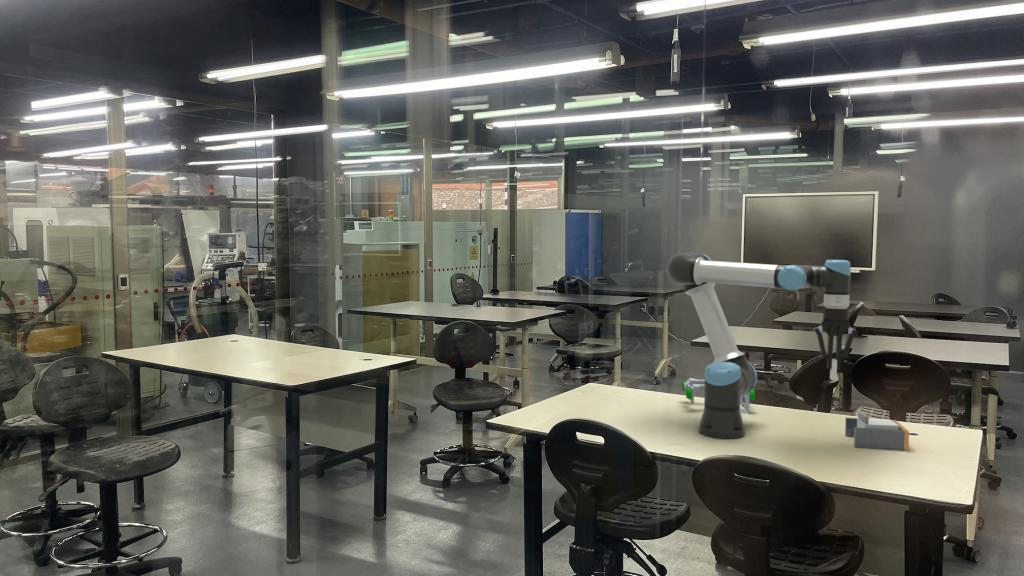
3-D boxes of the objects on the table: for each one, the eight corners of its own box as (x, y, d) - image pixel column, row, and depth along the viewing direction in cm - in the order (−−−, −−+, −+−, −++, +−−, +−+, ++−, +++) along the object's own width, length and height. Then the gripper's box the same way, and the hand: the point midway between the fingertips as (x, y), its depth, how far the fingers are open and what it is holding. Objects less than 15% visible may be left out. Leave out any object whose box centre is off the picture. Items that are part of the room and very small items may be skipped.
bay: (854, 447, 215) (855, 428, 215) (845, 435, 229) (845, 417, 229) (908, 450, 211) (909, 431, 211) (895, 438, 225) (895, 420, 225)
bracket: (682, 401, 280) (682, 377, 280) (745, 403, 277) (745, 379, 276) (687, 412, 262) (687, 386, 261) (754, 414, 258) (755, 388, 258)
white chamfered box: (864, 445, 217) (865, 416, 216) (856, 438, 225) (857, 410, 224) (898, 446, 215) (899, 418, 215) (889, 439, 223) (890, 412, 222)
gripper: (816, 307, 219) (813, 380, 220) (860, 309, 215) (857, 382, 217) (812, 305, 226) (809, 375, 228) (855, 307, 223) (852, 378, 224)
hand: (833, 379), depth 222 cm, fingers closed
